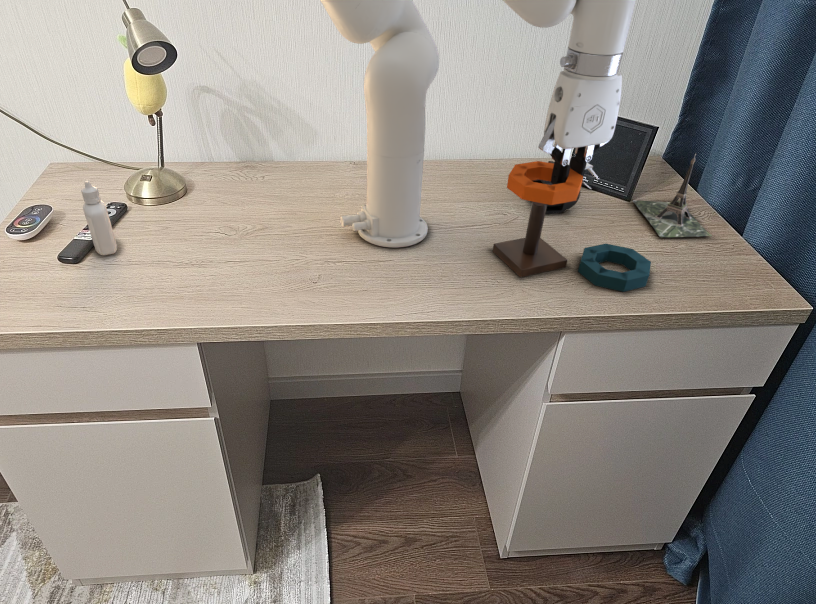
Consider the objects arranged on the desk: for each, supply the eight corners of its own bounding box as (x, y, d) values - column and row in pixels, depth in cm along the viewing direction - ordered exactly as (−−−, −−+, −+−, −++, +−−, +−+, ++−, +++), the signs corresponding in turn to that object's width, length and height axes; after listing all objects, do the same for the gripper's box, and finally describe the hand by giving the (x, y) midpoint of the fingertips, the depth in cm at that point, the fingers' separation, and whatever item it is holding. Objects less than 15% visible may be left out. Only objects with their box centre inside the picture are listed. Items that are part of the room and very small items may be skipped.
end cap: (576, 213, 119) (584, 180, 114) (541, 215, 118) (548, 182, 113) (556, 191, 126) (563, 159, 122) (523, 193, 125) (529, 161, 121)
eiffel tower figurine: (629, 202, 123) (649, 136, 115) (678, 202, 124) (701, 137, 116) (659, 239, 112) (683, 169, 103) (713, 239, 112) (741, 169, 104)
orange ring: (533, 208, 91) (536, 194, 90) (496, 180, 99) (498, 167, 98) (592, 197, 95) (596, 184, 93) (552, 171, 102) (554, 158, 101)
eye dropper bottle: (87, 256, 101) (65, 188, 94) (99, 239, 106) (79, 173, 98) (113, 256, 101) (94, 189, 94) (124, 240, 106) (107, 174, 98)
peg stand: (520, 277, 100) (531, 219, 94) (492, 251, 106) (500, 195, 100) (565, 267, 103) (579, 210, 96) (535, 242, 109) (547, 187, 103)
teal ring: (607, 295, 97) (611, 284, 95) (566, 262, 104) (569, 250, 103) (660, 282, 100) (664, 271, 99) (617, 251, 108) (620, 240, 106)
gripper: (561, 74, 81) (536, 202, 93) (655, 65, 87) (621, 187, 98) (529, 60, 87) (510, 182, 98) (620, 52, 92) (591, 169, 103)
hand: (565, 184), depth 98 cm, fingers closed on orange ring, 2 cm apart
